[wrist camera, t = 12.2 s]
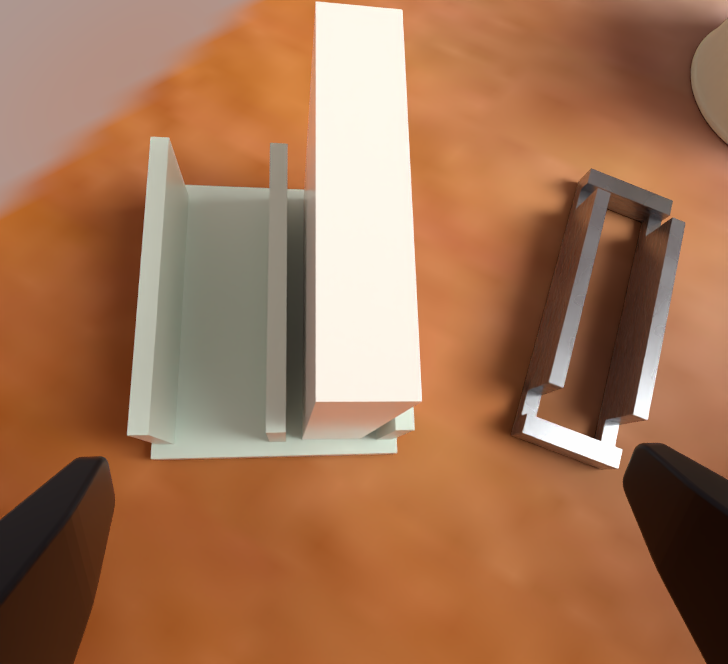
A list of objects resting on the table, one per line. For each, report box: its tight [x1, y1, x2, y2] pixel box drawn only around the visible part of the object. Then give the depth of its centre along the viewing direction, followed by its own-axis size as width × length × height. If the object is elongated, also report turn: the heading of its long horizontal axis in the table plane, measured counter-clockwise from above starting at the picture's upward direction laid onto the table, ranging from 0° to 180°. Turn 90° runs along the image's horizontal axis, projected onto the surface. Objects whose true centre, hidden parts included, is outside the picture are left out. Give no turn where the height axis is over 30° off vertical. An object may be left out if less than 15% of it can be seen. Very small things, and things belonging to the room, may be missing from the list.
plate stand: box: [511, 169, 685, 470], centre depth 24 cm, size 13×4×2 cm, turn 161°
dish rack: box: [127, 137, 415, 460], centre depth 20 cm, size 11×9×5 cm
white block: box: [302, 2, 422, 440], centre depth 17 cm, size 10×2×10 cm, turn 2°
